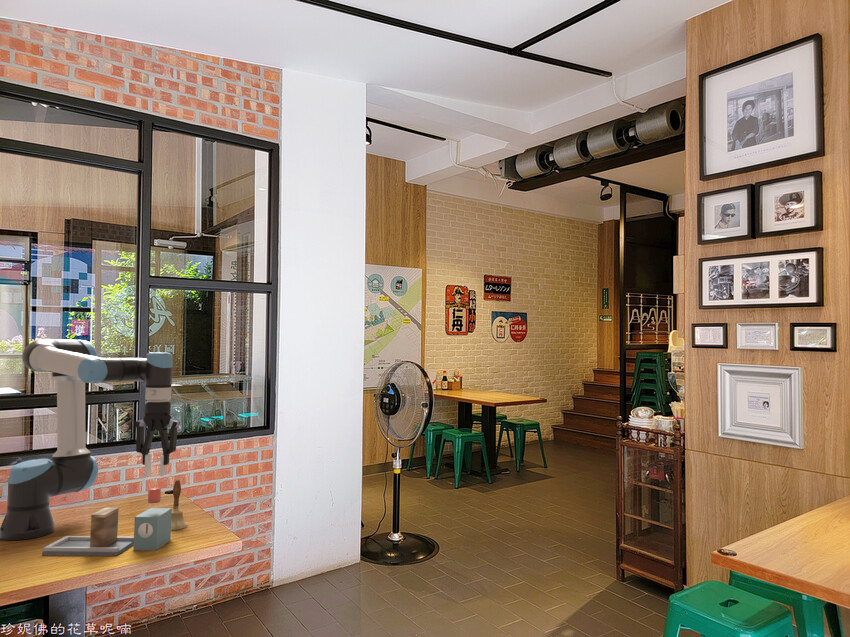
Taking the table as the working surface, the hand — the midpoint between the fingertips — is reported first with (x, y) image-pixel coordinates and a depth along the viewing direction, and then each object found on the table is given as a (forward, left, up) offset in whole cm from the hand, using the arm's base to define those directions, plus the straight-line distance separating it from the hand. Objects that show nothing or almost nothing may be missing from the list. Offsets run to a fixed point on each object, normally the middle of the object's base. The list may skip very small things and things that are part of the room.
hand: (155, 475), depth 183 cm
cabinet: (0, 0, -22) cm, 22 cm away
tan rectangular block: (-13, -4, -20) cm, 25 cm away
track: (-17, -4, -22) cm, 28 cm away
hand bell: (-1, +19, -22) cm, 29 cm away
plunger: (0, 0, -9) cm, 9 cm away
